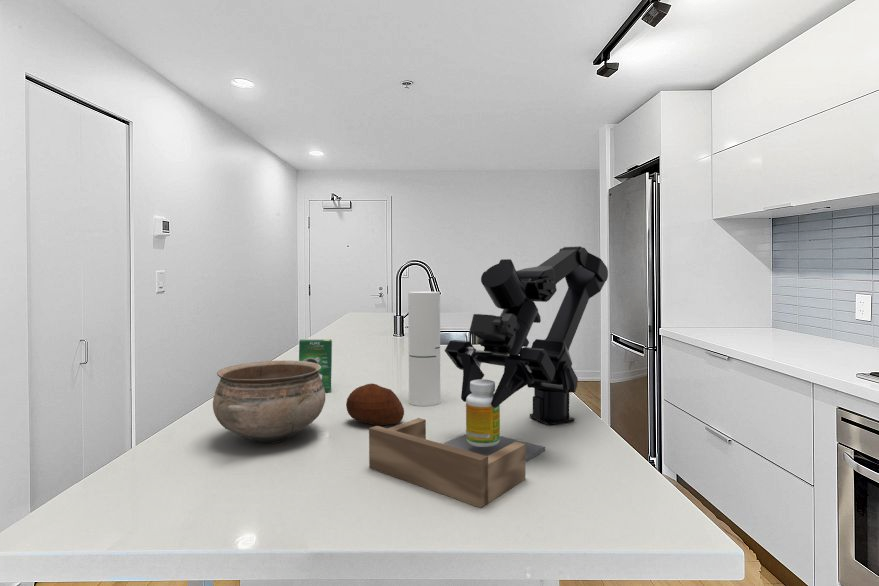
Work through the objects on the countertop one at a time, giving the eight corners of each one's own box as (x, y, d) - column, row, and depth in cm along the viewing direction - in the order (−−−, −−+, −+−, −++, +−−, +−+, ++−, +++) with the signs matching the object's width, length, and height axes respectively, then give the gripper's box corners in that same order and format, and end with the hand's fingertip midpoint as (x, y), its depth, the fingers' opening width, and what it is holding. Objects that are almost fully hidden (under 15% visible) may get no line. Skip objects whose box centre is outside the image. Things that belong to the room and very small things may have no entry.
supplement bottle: (498, 448, 76) (498, 386, 75) (464, 446, 77) (463, 385, 76) (501, 437, 81) (500, 378, 81) (468, 435, 82) (468, 377, 82)
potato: (400, 431, 91) (400, 388, 91) (339, 429, 92) (339, 387, 92) (406, 419, 99) (406, 379, 98) (350, 417, 100) (350, 378, 99)
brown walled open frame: (418, 447, 82) (418, 412, 82) (525, 478, 69) (525, 437, 69) (369, 467, 74) (368, 428, 73) (481, 508, 61) (480, 460, 61)
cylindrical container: (446, 400, 113) (445, 291, 112) (429, 407, 107) (428, 292, 106) (420, 396, 116) (420, 291, 116) (402, 403, 110) (401, 292, 110)
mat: (474, 433, 89) (474, 429, 89) (544, 450, 81) (544, 446, 81) (434, 450, 81) (434, 447, 80) (508, 472, 72) (508, 468, 72)
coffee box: (332, 389, 124) (331, 338, 123) (332, 392, 121) (331, 339, 120) (299, 391, 122) (298, 339, 121) (298, 394, 119) (297, 340, 119)
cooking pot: (256, 415, 101) (255, 356, 101) (345, 418, 99) (344, 358, 98) (176, 460, 77) (175, 383, 76) (291, 466, 74) (290, 386, 74)
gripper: (450, 294, 87) (409, 366, 79) (546, 297, 75) (509, 382, 67) (476, 333, 93) (440, 404, 85) (568, 341, 81) (537, 424, 73)
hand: (477, 403), depth 78 cm, fingers closed on supplement bottle, 5 cm apart
